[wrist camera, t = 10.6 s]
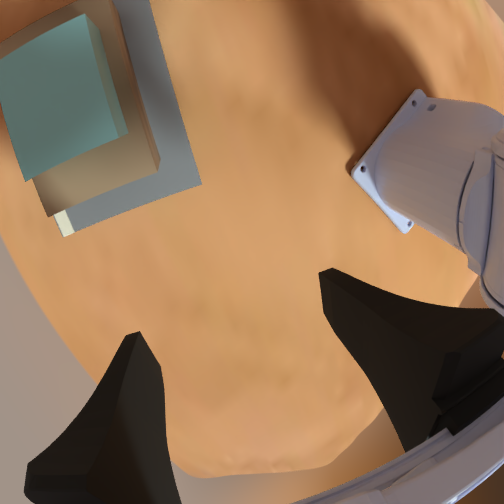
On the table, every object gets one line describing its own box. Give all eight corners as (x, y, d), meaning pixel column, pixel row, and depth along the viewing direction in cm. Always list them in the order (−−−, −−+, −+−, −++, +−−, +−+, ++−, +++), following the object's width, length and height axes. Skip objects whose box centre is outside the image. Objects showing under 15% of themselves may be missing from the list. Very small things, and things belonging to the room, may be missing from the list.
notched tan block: (29, 55, 11) (-4, 45, 8) (119, 13, 12) (105, -11, 9) (71, 194, 16) (48, 217, 12) (160, 158, 16) (157, 172, 13)
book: (15, 48, 12) (1, 43, 10) (145, -10, 13) (143, -23, 11) (71, 225, 18) (62, 237, 16) (199, 177, 19) (202, 184, 17)
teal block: (18, 70, 9) (-8, 65, 7) (99, 29, 9) (84, 13, 7) (48, 169, 11) (25, 181, 9) (128, 133, 12) (118, 137, 10)
